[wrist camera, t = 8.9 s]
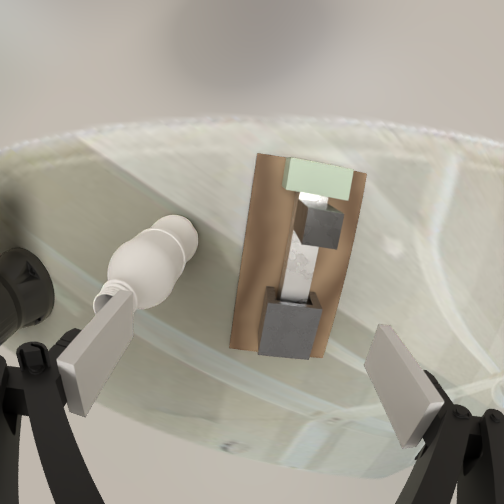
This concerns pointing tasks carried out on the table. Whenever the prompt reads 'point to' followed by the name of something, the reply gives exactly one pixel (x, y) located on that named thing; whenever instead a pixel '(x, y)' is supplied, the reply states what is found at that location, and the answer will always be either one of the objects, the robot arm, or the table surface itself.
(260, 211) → the base board
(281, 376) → the table surface
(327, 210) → the rod
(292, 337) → the sleeve
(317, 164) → the socket block
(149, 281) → the water bottle
